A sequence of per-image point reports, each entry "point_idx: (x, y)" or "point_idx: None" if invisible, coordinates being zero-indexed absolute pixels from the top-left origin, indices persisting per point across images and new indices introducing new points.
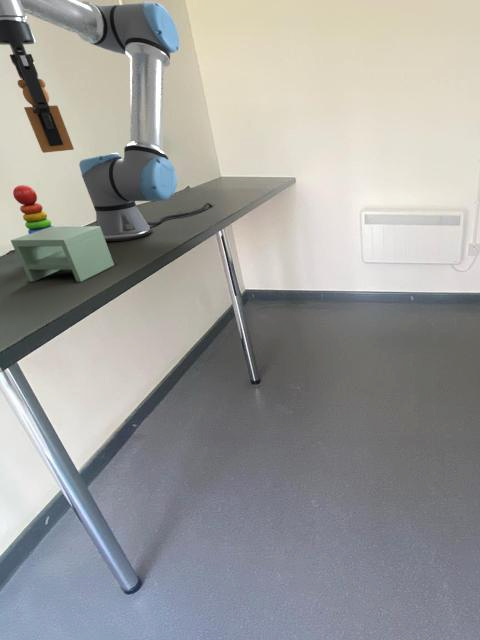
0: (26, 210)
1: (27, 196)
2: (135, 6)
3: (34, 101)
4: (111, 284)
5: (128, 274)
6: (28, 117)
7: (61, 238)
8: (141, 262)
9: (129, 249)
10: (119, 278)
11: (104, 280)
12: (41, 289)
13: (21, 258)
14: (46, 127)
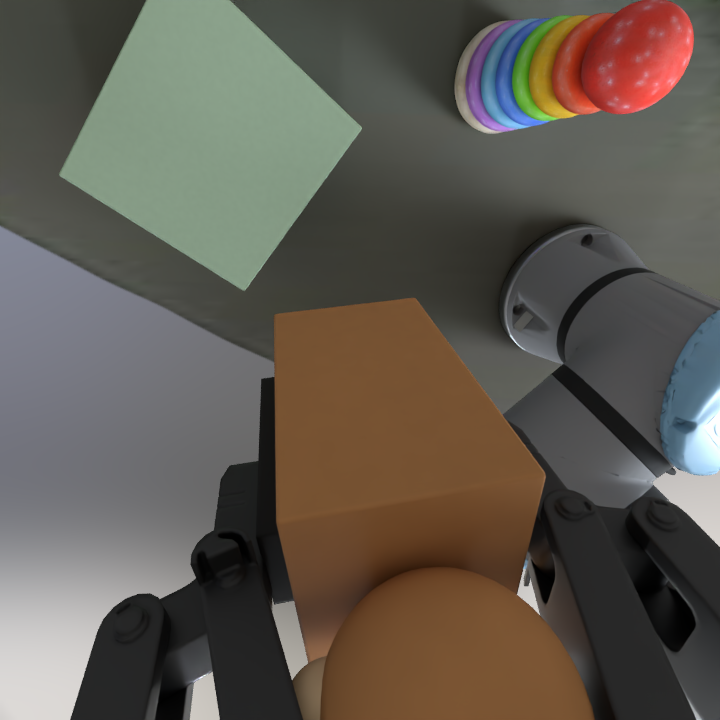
0: (563, 43)
1: (591, 71)
2: None
3: (83, 693)
4: (40, 235)
5: (126, 280)
6: (330, 439)
7: (90, 167)
8: (235, 314)
9: (398, 293)
10: (95, 257)
11: (93, 219)
12: (73, 27)
13: None
14: (236, 474)
